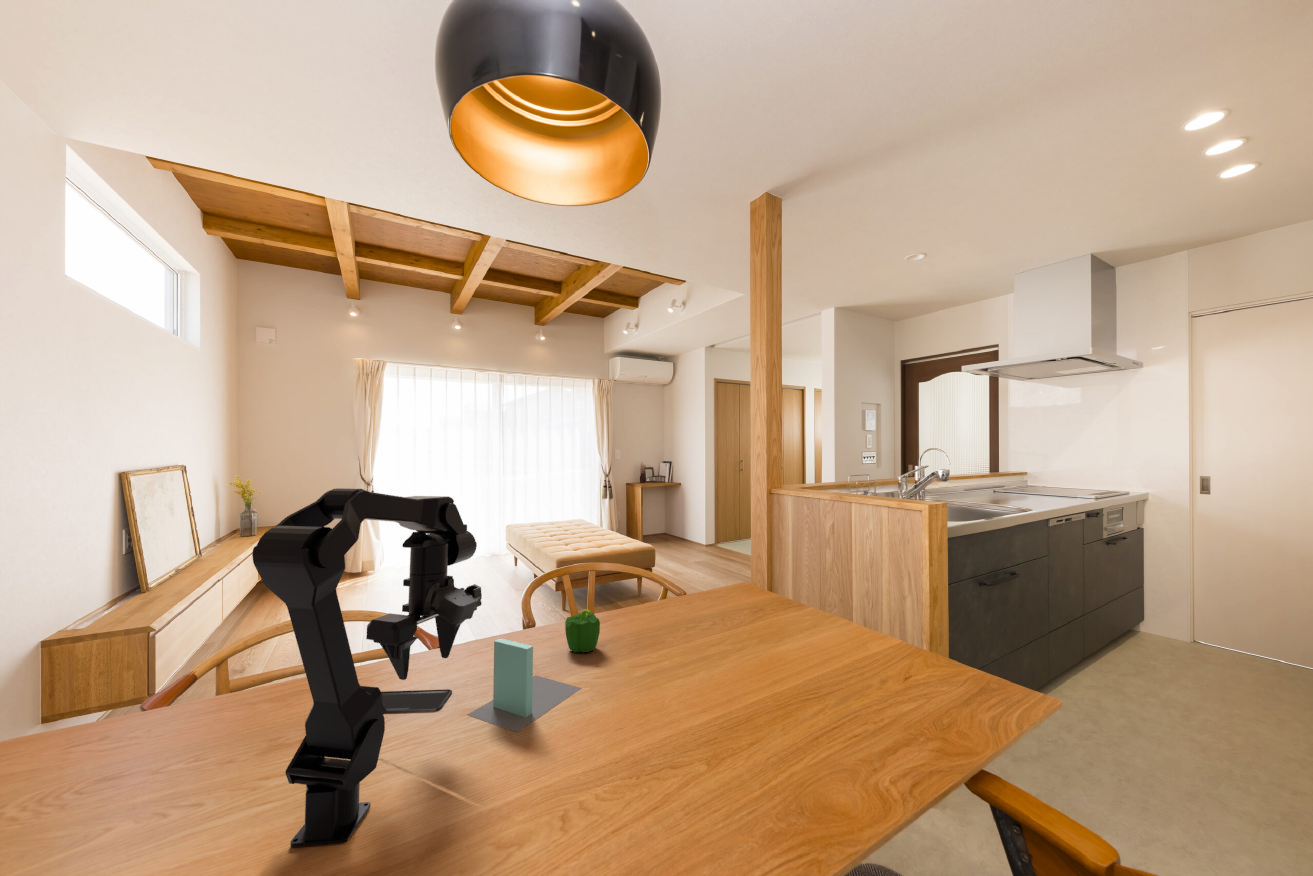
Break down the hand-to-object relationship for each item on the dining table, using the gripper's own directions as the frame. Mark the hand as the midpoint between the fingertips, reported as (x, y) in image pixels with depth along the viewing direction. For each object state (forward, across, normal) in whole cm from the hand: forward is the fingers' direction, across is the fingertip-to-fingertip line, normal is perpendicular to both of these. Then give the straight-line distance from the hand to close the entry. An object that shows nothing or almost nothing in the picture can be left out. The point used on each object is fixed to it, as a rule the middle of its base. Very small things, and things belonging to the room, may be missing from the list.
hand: (425, 668), depth 81 cm
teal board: (+11, +13, -8) cm, 19 cm away
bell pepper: (+11, +43, -8) cm, 45 cm away
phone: (+12, +9, +12) cm, 20 cm away
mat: (+12, +17, -9) cm, 22 cm away
